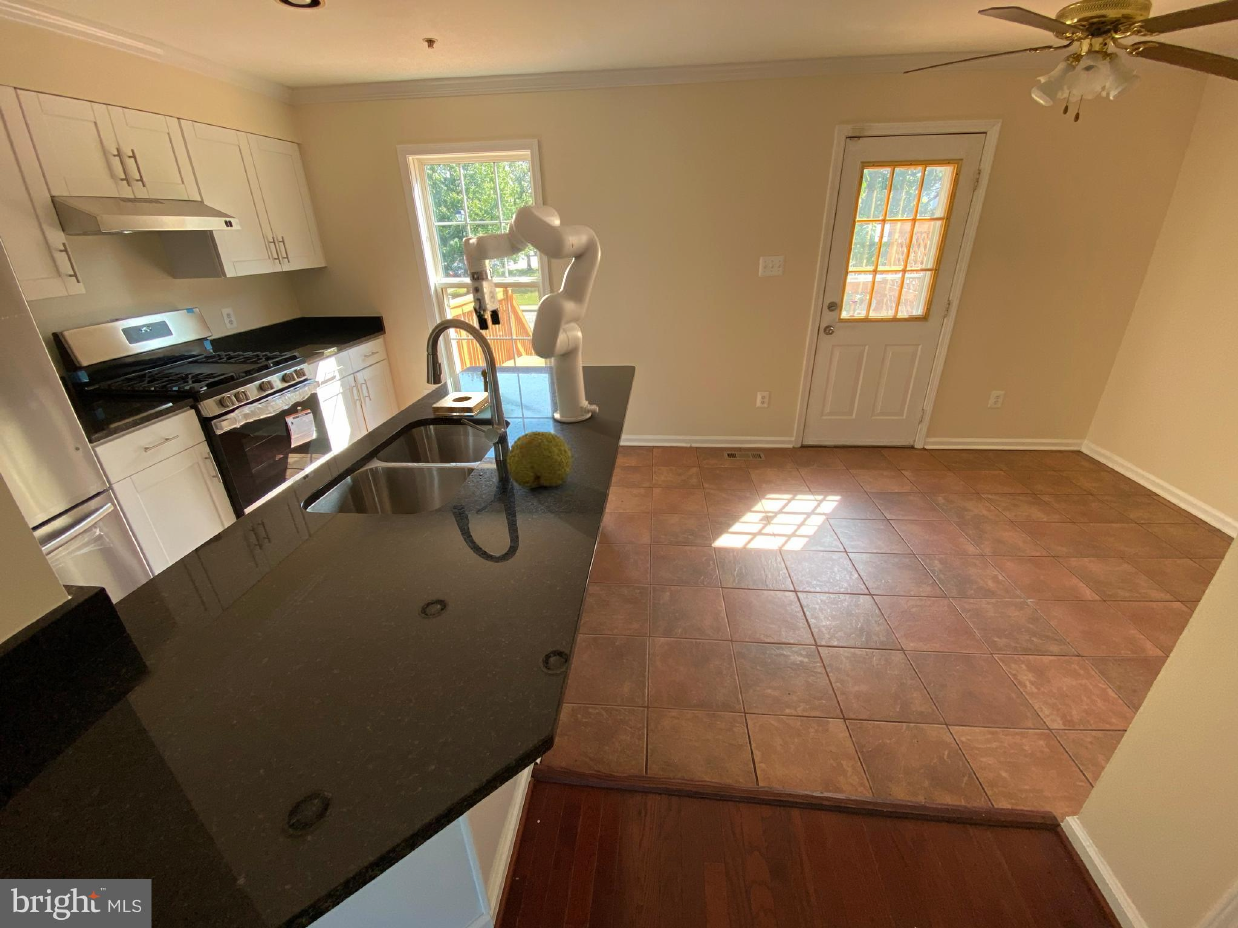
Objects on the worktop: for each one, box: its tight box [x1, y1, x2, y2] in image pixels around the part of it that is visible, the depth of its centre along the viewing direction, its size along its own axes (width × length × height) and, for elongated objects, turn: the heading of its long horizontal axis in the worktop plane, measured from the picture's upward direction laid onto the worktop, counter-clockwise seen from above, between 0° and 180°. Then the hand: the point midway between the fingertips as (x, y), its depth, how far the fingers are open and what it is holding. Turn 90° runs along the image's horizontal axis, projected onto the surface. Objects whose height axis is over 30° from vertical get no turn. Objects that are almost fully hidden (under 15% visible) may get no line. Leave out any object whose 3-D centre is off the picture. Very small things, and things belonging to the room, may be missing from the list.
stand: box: [431, 391, 491, 418], centre depth 184 cm, size 16×16×4 cm
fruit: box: [505, 430, 573, 489], centre depth 125 cm, size 16×14×15 cm
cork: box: [480, 368, 488, 393], centre depth 196 cm, size 6×6×11 cm
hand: (490, 327), depth 177 cm, fingers open, 9 cm apart
